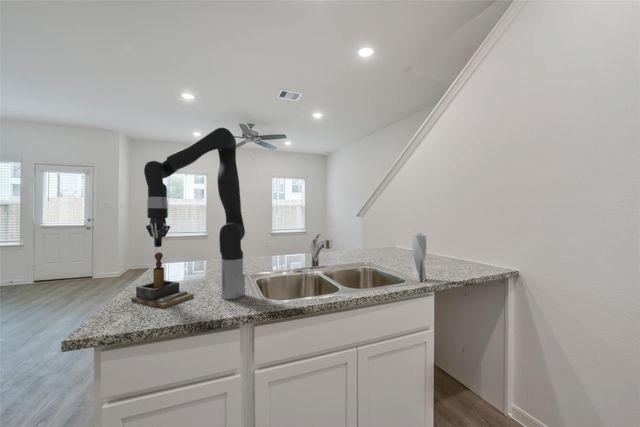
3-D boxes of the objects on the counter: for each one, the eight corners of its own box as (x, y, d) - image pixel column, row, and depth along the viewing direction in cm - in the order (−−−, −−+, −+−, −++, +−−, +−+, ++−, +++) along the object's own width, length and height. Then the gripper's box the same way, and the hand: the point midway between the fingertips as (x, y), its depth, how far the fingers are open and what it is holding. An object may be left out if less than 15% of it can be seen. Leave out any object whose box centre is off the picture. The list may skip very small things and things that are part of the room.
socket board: (193, 297, 112) (193, 283, 112) (163, 308, 99) (163, 293, 99) (162, 291, 120) (162, 279, 120) (131, 301, 107) (131, 287, 107)
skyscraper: (408, 279, 144) (408, 230, 144) (416, 277, 149) (416, 230, 148) (421, 282, 137) (422, 231, 137) (429, 280, 142) (430, 230, 142)
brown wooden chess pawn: (158, 296, 107) (158, 254, 107) (145, 295, 108) (145, 253, 108) (171, 291, 113) (170, 251, 113) (158, 290, 115) (158, 251, 115)
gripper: (176, 207, 111) (176, 246, 112) (156, 207, 117) (156, 245, 117) (159, 207, 104) (159, 248, 105) (139, 207, 110) (139, 247, 110)
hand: (158, 246), depth 111 cm, fingers closed
